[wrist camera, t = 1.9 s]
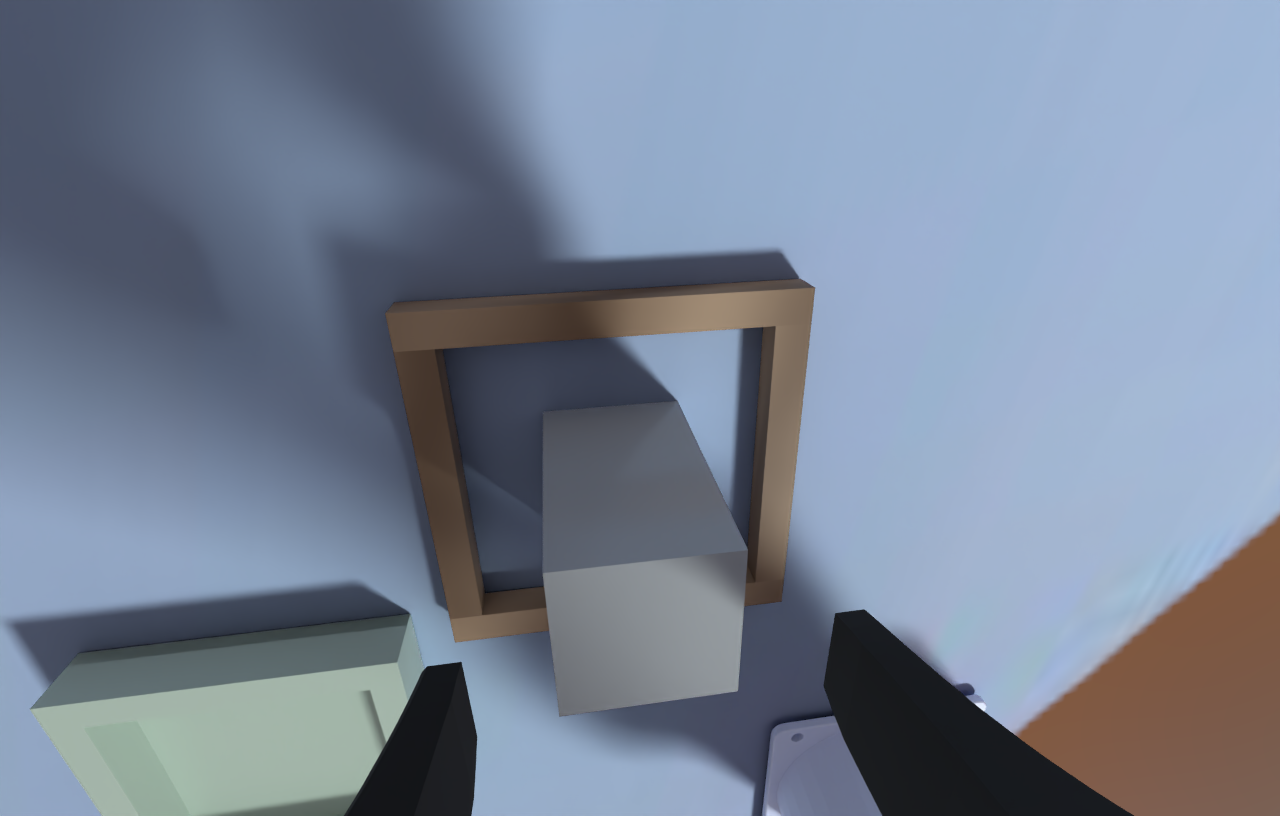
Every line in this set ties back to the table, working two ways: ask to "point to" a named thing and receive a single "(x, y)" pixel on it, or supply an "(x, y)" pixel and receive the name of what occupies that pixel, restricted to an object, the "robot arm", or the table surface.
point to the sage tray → (234, 719)
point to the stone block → (637, 560)
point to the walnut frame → (589, 316)
